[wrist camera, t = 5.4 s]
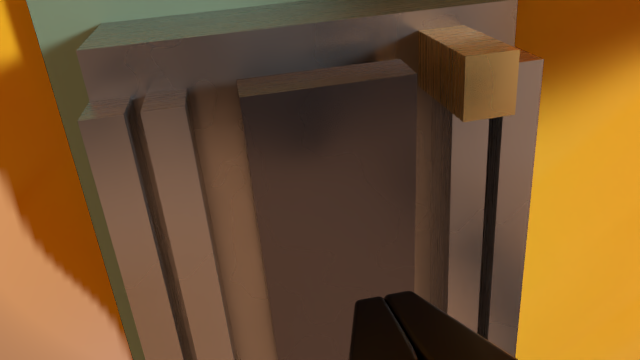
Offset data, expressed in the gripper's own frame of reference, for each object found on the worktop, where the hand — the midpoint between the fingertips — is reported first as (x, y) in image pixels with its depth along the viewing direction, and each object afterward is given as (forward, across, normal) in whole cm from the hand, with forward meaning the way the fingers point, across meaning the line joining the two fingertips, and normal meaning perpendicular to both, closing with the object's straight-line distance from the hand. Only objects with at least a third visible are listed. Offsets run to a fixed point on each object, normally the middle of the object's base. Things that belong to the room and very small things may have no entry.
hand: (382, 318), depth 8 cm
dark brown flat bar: (+5, 0, +4) cm, 6 cm away
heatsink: (+8, 0, +5) cm, 9 cm away
